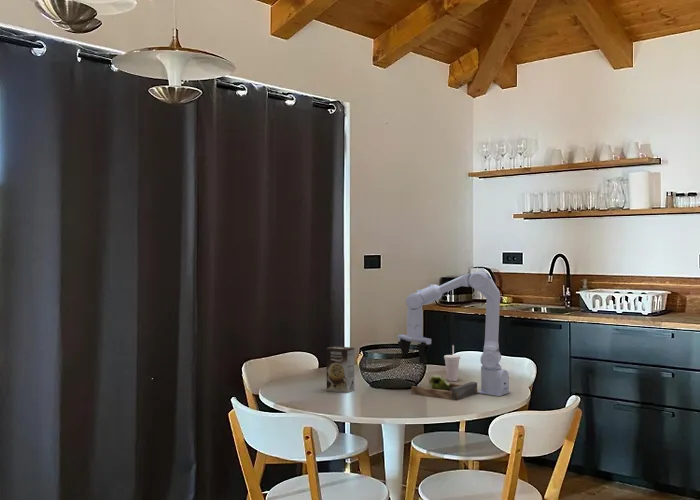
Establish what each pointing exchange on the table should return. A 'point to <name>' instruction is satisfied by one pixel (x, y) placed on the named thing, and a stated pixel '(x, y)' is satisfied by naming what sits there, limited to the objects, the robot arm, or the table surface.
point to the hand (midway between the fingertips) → (413, 361)
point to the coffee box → (340, 369)
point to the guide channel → (455, 393)
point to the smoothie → (452, 365)
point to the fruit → (438, 383)
